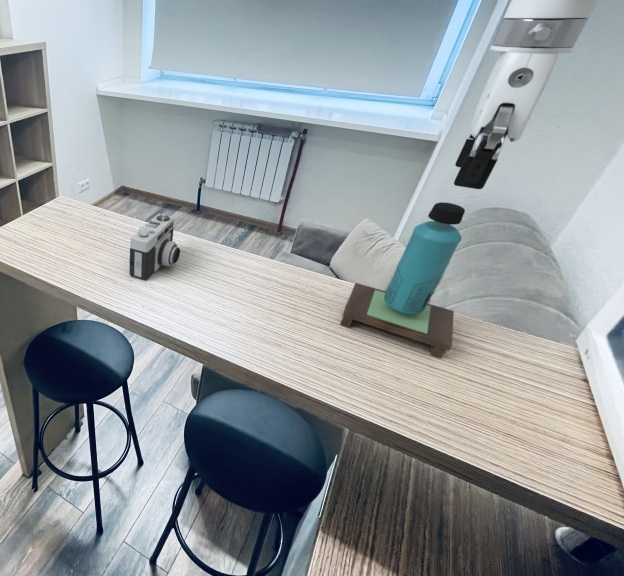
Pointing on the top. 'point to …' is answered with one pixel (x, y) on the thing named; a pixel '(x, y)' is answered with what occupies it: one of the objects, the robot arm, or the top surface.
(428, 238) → the beverage bottle
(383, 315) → the shelf
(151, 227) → the camera
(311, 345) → the top surface
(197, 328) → the top surface
